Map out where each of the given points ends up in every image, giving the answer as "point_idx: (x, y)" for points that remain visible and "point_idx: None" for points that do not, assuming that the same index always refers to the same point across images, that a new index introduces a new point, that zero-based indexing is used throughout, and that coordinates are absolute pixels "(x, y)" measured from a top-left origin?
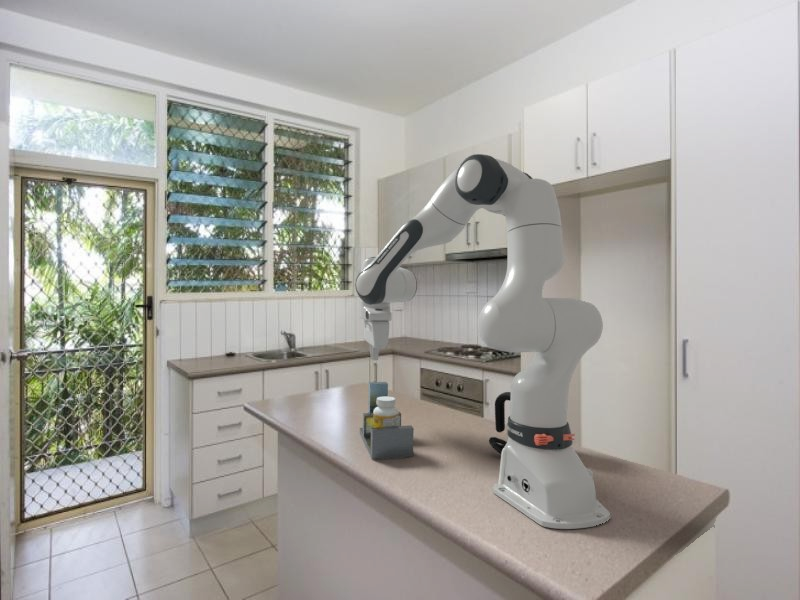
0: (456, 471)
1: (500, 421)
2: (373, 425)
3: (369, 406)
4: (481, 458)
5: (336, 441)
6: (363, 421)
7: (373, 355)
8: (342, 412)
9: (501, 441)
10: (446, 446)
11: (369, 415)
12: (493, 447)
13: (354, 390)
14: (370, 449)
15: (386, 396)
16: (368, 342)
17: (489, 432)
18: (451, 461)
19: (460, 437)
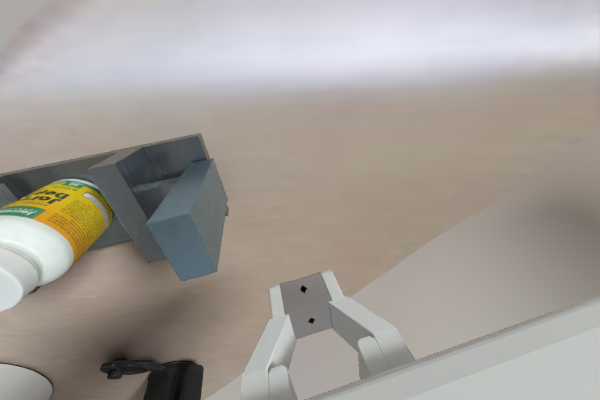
0: (15, 313)
1: (181, 388)
2: (21, 199)
3: (182, 181)
4: (103, 336)
5: (112, 69)
6: (112, 159)
7: (273, 316)
8: (383, 74)
9: (146, 368)
10: (150, 294)
11: (97, 185)
12: (108, 363)
13: (568, 99)
14: (12, 174)
15: (14, 285)
16: (352, 394)
17: (239, 337)
18: (67, 305)
19: (207, 308)
